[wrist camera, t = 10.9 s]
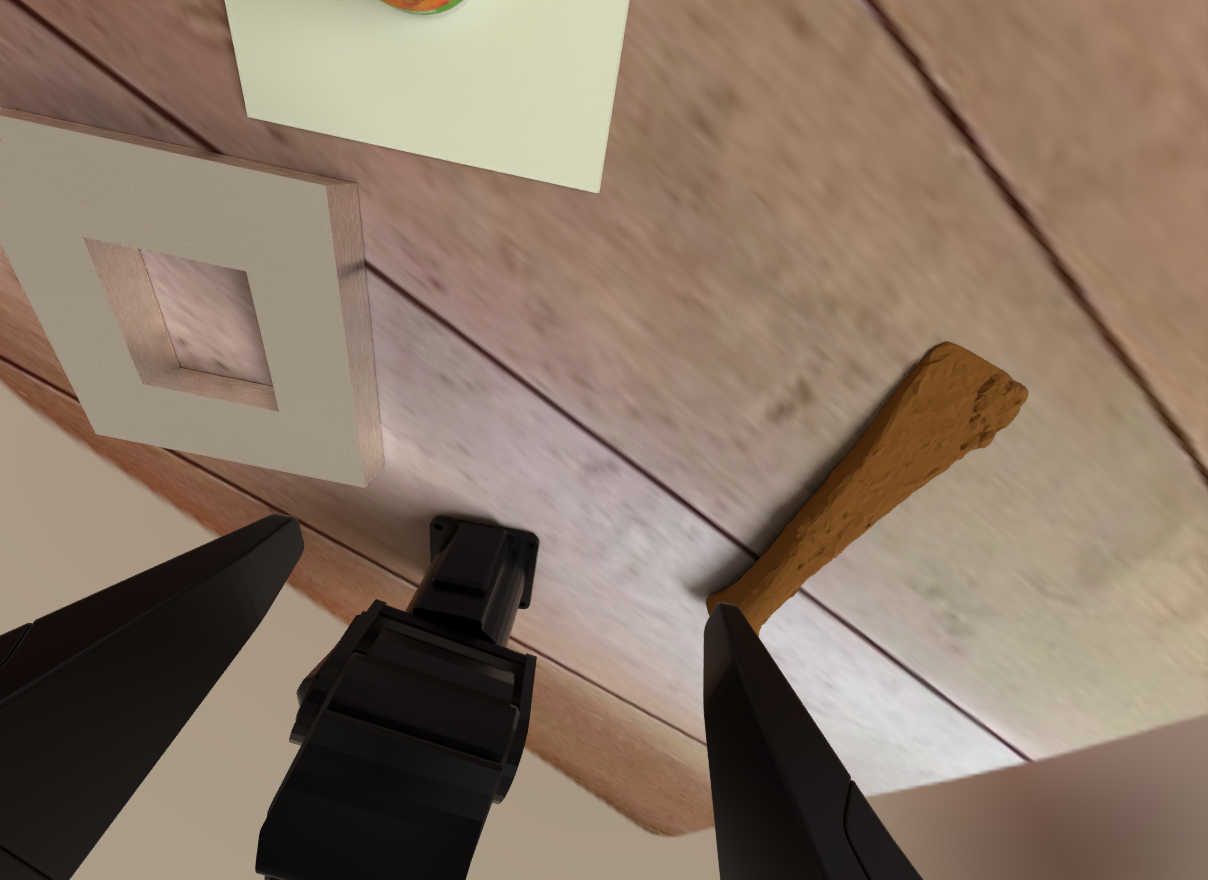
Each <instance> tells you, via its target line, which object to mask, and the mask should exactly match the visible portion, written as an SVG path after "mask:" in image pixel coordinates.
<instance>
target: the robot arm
mask: <svg viewBox="0 0 1208 880" xmlns="http://www.w3.org/2000/svg"><path fill="white" fill-rule="evenodd" d="M439 524H440V525H439ZM529 542H531V543H533V544H531V543H529ZM539 543H540V541H539V539H538V537H537V536H535V535H532V534H527V533H522V532H517V531H512V530H507V529H502V528H497V527H492V526H487V525H482V524H477V523H472V522H467V521H462V520H457V519H452V518H447V517H442V516H436V517H434V518H433V519H432V521H431V523H430V548H431V565H430V567H429V569H428V571H427V572H426V574H425V576H424V578H423V580H422V581H421V583H420V585H419V587H418V589H417V591H416V592H415V594H414V596H413V598H412V600H411V602H410V603H409V605H408V607H407V609H406V611H402V610H399V609H396V608H394V607H391V606H388V605H386V603H385V602H383V601H380V600H377V599H376V600H375V601H374V602H373V604H372V605H371V606H370V608H369V609H368V610H367V612H365V611H363V612H362V613H361V615H356V617H355V618H354V620H353V621H352V623H351V624H350V626H349V627H348V629H347V630H346V632H345V634H344V635H343V636H342V638H341V640H340V641H339V642H338V643H337V645H336V646H335V647H334V648H333V649H332V650H331V651H330V653H329V654H328V655H327V656H326V657H325V658H324V659H323V660H322V661H321V662H320V663H319V664H318V665H317V666H316V667H315V668H314V669H313V670H312V671H311V672H310V674H309V675H308V676H307V677H306V678H305V679H304V680H303V681H302V683H301V685H300V686H299V688H298V690H297V697H298V701H299V706H300V708H299V710H298V713H297V716H296V722H295V724H294V727H293V729H292V732H291V735H290V738H289V742H291V743H294V744H297V745H301V747H300V749H299V751H298V753H297V755H296V757H295V759H294V761H293V762H292V764H291V766H290V768H289V770H288V772H287V774H286V776H285V778H284V780H283V782H282V784H281V786H280V787H279V790H278V791H277V793H276V795H275V797H274V799H273V801H272V803H271V805H270V807H269V810H268V813H267V818H266V820H265V822H264V824H263V826H262V828H261V830H260V834H259V841H258V849H257V857H256V866H255V870H256V873H258V874H262V875H265V880H466V876H467V873H468V870H469V867H470V863H471V860H472V857H473V854H474V852H475V849H476V846H477V843H478V840H479V838H480V835H481V832H482V829H483V826H484V823H485V821H486V818H487V815H488V812H489V809H490V807H491V804H492V803H496V804H499V803H501V802H502V801H503V799H504V798H505V796H506V794H507V792H508V790H509V788H510V786H511V784H512V781H513V779H514V776H515V774H516V771H517V768H518V765H519V762H520V759H521V756H522V753H523V749H524V745H525V742H526V737H527V732H528V727H529V720H530V711H531V702H532V694H533V685H534V676H535V667H536V659H537V657H536V656H533V655H530V654H528V653H527V654H526V655H525V654H522V653H519V652H517V651H514V650H511V649H508V648H506V647H507V643H508V640H509V636H510V633H511V630H512V626H513V623H514V620H515V616H516V613H517V610H518V608H519V609H527V608H528V607H529V605H530V602H531V596H532V589H533V583H534V576H535V569H536V563H537V556H538V549H539ZM303 550H304V541H303V537H302V533H301V529H300V525H299V521H298V519H297V518H296V517H293V516H289V515H284V514H272V515H269V516H267V517H265V518H262V519H260V520H258V521H256V522H254V523H251V524H249V525H247V526H245V527H242V528H240V529H238V530H236V531H233V532H231V533H229V534H227V535H224V536H222V537H220V538H218V539H215V540H213V541H211V542H209V543H206V544H204V545H202V546H200V547H198V548H195V549H193V550H191V551H189V552H186V553H184V554H182V555H180V556H177V557H175V558H173V559H171V560H168V561H166V562H164V563H162V564H159V565H157V566H155V567H153V568H150V569H148V570H146V571H144V572H142V573H139V574H137V575H135V576H133V577H130V578H128V579H126V580H124V581H121V582H119V583H117V584H115V585H112V586H110V587H108V588H106V589H103V590H101V591H99V592H97V593H94V594H92V595H90V596H88V597H86V598H83V599H81V600H79V601H77V602H74V603H72V604H70V605H68V606H66V607H63V608H61V609H59V610H56V611H54V612H52V613H50V614H47V615H45V616H43V617H41V618H38V619H36V620H35V621H34V622H33V623H27V624H25V625H22V626H20V627H18V628H16V629H14V630H11V631H9V632H7V633H5V634H3V635H0V880H70V878H71V877H72V876H73V874H74V873H75V872H76V870H77V869H78V868H79V866H80V865H81V864H82V862H83V861H84V860H85V858H86V857H87V856H88V854H89V853H90V851H91V850H92V849H93V848H94V846H95V845H96V843H97V842H98V841H99V839H100V838H101V837H102V835H103V834H104V833H105V831H106V830H107V829H108V827H109V826H110V825H111V823H112V822H113V821H114V819H115V818H116V817H117V815H118V814H119V812H120V811H121V810H122V808H123V807H124V806H125V804H126V803H127V802H128V800H129V799H130V798H131V796H132V795H133V794H134V792H135V791H136V790H137V788H138V787H139V786H140V784H141V783H142V782H143V780H144V779H145V778H146V776H147V775H148V774H149V772H150V771H151V770H152V768H153V767H154V766H155V764H156V763H157V761H158V760H159V759H160V757H161V756H162V755H163V753H164V752H165V751H166V749H167V748H168V747H169V745H170V744H171V743H172V741H173V740H174V739H175V737H176V736H177V735H178V733H179V732H180V731H181V729H182V728H183V726H184V725H185V724H186V723H187V721H188V720H189V719H190V717H191V716H192V714H193V713H194V712H195V710H196V709H197V708H198V706H199V705H200V704H201V702H202V701H203V700H204V698H205V697H206V696H207V694H208V693H209V692H210V690H211V689H212V688H213V686H214V685H215V684H216V682H217V681H218V679H219V678H220V677H221V676H222V674H223V673H224V671H225V670H226V669H227V667H228V666H229V665H230V663H231V662H232V661H233V659H234V658H235V657H236V655H237V654H238V653H239V651H240V650H241V649H242V647H243V646H244V645H245V643H246V642H247V641H248V639H249V638H250V637H251V635H252V634H253V632H254V631H255V630H256V628H257V627H258V625H259V624H260V623H261V621H262V620H263V618H264V616H265V615H266V613H267V612H268V610H269V609H270V607H271V605H272V604H273V602H274V600H275V599H276V597H277V595H278V594H279V592H280V590H281V589H282V587H283V585H284V584H285V582H286V580H287V579H288V577H289V575H290V574H291V572H292V570H293V569H294V567H295V565H296V564H297V562H298V560H299V559H300V557H301V555H302V553H303ZM703 704H704V721H705V731H706V741H707V751H708V761H709V771H710V781H711V791H712V801H713V811H714V821H715V831H716V841H717V851H718V861H719V870H720V871H719V872H720V880H923V879H922V877H921V876H920V874H919V873H918V872H917V870H916V869H915V868H914V866H913V865H912V864H911V862H910V861H909V860H908V858H907V857H906V855H905V854H904V853H903V851H902V850H901V849H900V847H899V846H898V845H897V844H896V842H895V841H894V839H893V838H892V836H891V835H890V833H889V832H888V831H887V829H886V828H885V826H884V825H883V823H882V822H881V820H880V819H879V817H878V816H877V814H876V813H875V812H874V810H873V809H872V807H871V806H870V804H869V803H868V801H867V800H866V798H865V797H864V795H863V794H862V792H861V791H860V789H859V788H858V786H857V785H856V783H855V782H854V781H853V780H851V776H850V774H849V773H848V771H847V770H846V768H845V767H844V765H843V764H842V762H841V761H840V759H839V758H838V756H837V755H836V753H835V752H834V750H833V749H832V747H831V746H830V744H829V743H828V741H827V740H826V738H825V737H824V735H823V734H822V732H821V731H820V729H819V728H818V726H817V725H816V723H815V722H814V720H813V719H812V717H811V716H810V714H809V713H808V711H807V709H806V708H805V706H804V705H803V703H802V702H801V700H800V699H799V697H798V696H797V694H796V693H795V691H794V690H793V688H792V687H791V685H790V684H789V682H788V681H787V679H786V678H785V676H784V675H783V673H782V672H781V670H780V669H779V667H778V666H777V664H776V663H775V661H774V660H773V658H772V657H771V655H770V654H769V652H768V651H767V649H766V648H765V646H764V645H763V643H762V642H761V640H760V639H759V637H758V636H757V634H756V633H755V631H754V629H753V628H752V626H751V625H750V623H749V622H748V620H747V619H746V617H745V616H744V614H743V613H742V611H741V610H740V608H739V607H738V606H736V605H734V604H730V603H725V602H718V603H716V605H715V607H714V609H713V611H712V613H711V615H710V617H709V619H708V621H707V623H706V625H705V629H704V680H703Z"/></svg>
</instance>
